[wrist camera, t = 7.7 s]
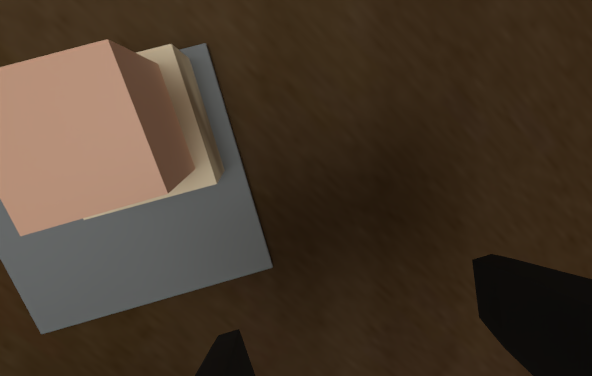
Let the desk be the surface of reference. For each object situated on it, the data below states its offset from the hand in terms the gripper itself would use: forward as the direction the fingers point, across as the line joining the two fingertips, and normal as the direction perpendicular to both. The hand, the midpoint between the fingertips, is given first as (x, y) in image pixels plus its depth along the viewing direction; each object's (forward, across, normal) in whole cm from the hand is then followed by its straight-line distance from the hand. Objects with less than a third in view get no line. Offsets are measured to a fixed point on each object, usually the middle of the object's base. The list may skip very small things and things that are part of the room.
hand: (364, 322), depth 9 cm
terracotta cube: (+6, +7, -7) cm, 12 cm away
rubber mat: (+10, +10, -4) cm, 15 cm away
